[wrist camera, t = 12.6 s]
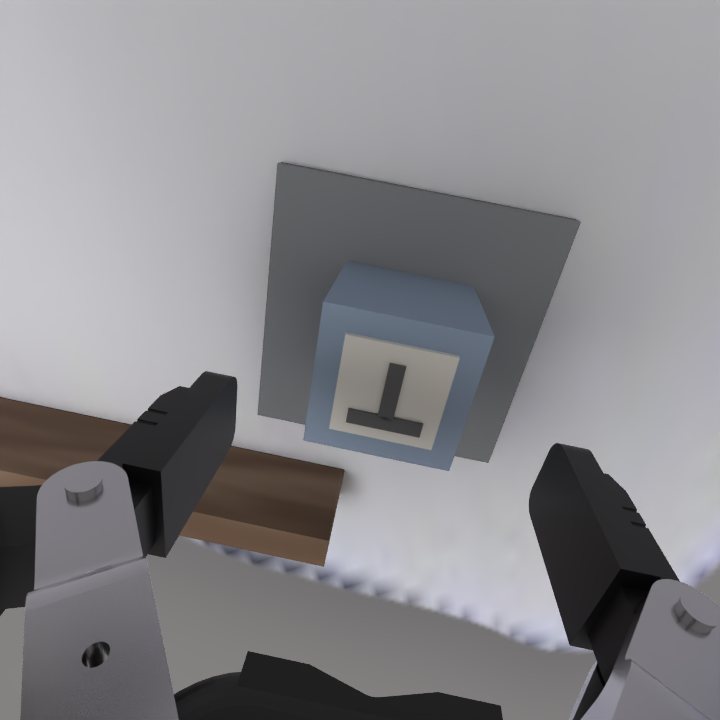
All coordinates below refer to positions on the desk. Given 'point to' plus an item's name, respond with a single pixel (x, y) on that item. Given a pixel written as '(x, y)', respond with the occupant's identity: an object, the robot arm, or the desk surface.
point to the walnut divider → (221, 498)
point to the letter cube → (396, 365)
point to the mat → (409, 255)
